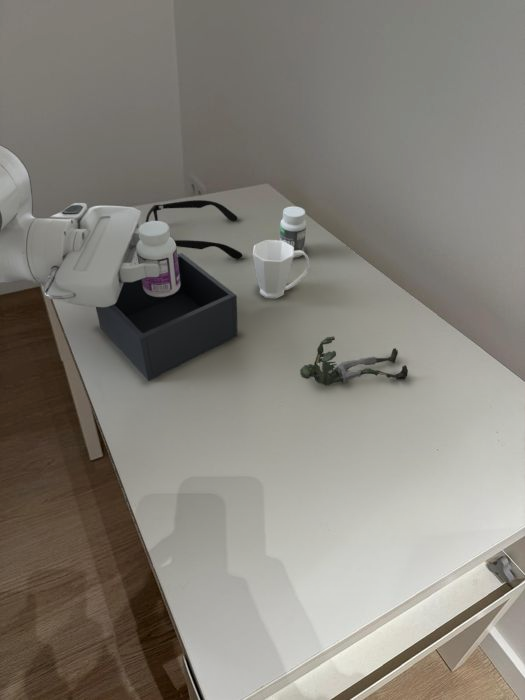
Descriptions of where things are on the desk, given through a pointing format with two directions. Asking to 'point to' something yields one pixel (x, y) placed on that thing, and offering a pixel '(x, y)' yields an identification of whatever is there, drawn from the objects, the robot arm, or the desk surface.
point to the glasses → (199, 244)
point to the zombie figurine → (344, 367)
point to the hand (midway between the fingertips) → (163, 254)
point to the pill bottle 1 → (159, 258)
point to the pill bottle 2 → (293, 228)
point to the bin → (171, 320)
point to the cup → (275, 267)
